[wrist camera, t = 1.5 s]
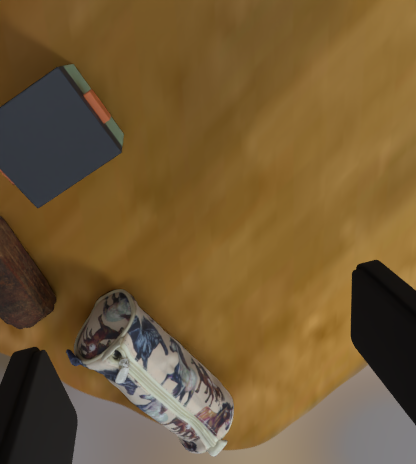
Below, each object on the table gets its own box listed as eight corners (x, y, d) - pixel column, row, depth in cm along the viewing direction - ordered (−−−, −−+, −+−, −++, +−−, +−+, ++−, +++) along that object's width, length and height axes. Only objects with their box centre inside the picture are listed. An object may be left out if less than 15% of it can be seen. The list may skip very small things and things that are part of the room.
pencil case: (70, 313, 41) (53, 382, 33) (130, 272, 40) (129, 331, 32) (180, 408, 51) (190, 480, 43) (231, 376, 50) (251, 444, 42)
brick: (-37, 228, 35) (-59, 252, 31) (2, 213, 35) (-16, 234, 31) (25, 308, 40) (13, 338, 36) (59, 295, 40) (50, 323, 36)
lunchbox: (78, 59, 31) (65, 61, 25) (129, 130, 34) (128, 148, 28) (-8, 120, 32) (-43, 137, 25) (49, 184, 35) (31, 213, 29)
